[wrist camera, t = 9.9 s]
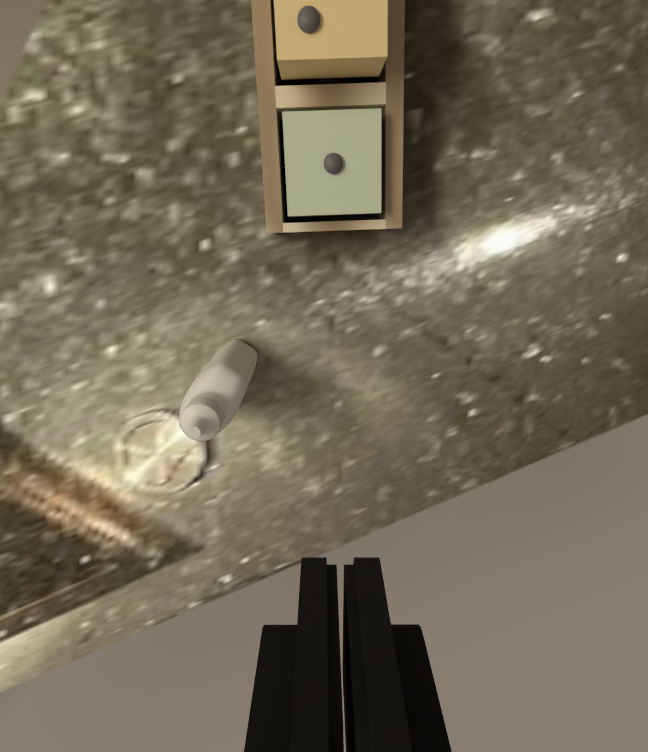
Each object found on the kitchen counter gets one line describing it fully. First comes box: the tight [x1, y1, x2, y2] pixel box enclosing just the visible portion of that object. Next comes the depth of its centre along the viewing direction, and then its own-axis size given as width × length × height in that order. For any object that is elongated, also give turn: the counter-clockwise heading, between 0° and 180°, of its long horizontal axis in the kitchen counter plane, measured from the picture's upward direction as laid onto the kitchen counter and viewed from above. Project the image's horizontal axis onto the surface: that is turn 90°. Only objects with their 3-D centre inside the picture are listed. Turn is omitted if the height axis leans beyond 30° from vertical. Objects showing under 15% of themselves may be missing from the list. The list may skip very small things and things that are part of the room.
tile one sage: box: [282, 108, 381, 217], centre depth 32 cm, size 6×6×4 cm
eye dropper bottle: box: [179, 339, 257, 441], centre depth 33 cm, size 4×6×12 cm
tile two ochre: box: [274, 0, 388, 80], centre depth 27 cm, size 6×6×4 cm
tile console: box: [251, 0, 405, 233], centre depth 31 cm, size 9×24×4 cm, turn 2°
